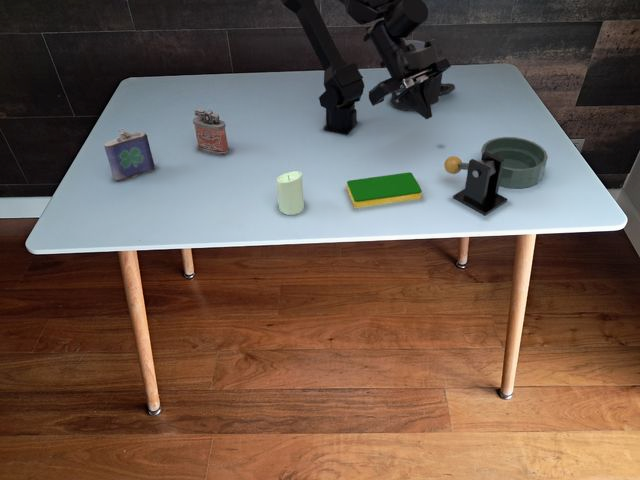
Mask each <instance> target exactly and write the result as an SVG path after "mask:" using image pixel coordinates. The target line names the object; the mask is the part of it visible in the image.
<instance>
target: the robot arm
mask: <svg viewBox="0 0 640 480" xmlns="http://www.w3.org/2000/svg"><path fill="white" fill-rule="evenodd" d="M280 2H281V3H282V5H283V6H284V7H285V8H287V9H289V10H290V11H291V12H292V13H294V14H295V15H296V17H297V19H298V22H299V23H300V25H301V27H302V29H303V31H304V33H305V35H306V37H307V39H308V41H309V43H310V45H311V47H312V50H313V51H314V53H315V55H316V57H317V58H318V61H319V63H320V65H321V68H322V69H323V72H324V73H323V86H324V89H325V90H324V92H323V93H321V94H320V95H319V96H318V100H319V105H320V107H322V108H324V109H325V125H324V127H323V131H327V132H331V133H335V134H341V135H349V134H350V133H351V132H352V130H354V129H355V127H356V126H357V125H358V121H357V119H358V118H357V117H358V115H357V112H358V111H357V109H356V103H357V102H360V101H361V99H362V96H363V94H364V89H365V82H364V80H363V79H364V76H363V75H362V74H361V72H360V70H359V68H358V65H357V64H356V63H355V62H351V63H348V62H347V61H346V60H345V59H344V58H343V56H342V54H341V51H340V50H339V48H338V46H337V44H336V42H335V40H334V38H333V36H332V34H331V32H330V30H329V29H328V25H327V23H326V22H325V20H324V17H323V16H322V14H321V12H320V9H319V8H318V6H317V4H316V0H280ZM338 2H340V3H341V4H342V5H344V8H345V11H346V13H347V14H348V16H349V17H350V18H351V19H353V20H354V21H355V22H356V23H357V24H359V25H360V26H361V25H366V24H369V23H371V22H375V21H377V22H376V23H375V24H372V25H369V26H366V27H365V29H364V31H365V32H364V34H363V39H362V40H363V42H365V43H366V42H369V41H372V43H373V45H374V47H375V49H376V51H377V52H378V54H379V57H380V58H381V60H382V61H380V63H379V66H380V67H381V69H383V68H386V70H387V71H388V74H389V75H390V77H389V78H387V79H385V80H382V81H379V83H377V84H376V85H375V86H374V87H373V88H371V89H370V90H369V91H368V101H369V102H370V104H371V106H372V107H374V106H376V105H378V104H381V103H383V102H384V101H385V98H386V97H387V96H388V95H391V94H392V93H393V92H395V91H396V94H397V96H396V97H395V98H394V100H395V101H396V100H399V101H400V102H402V103H404V104H405V105H407V106H409V107H410V108H412V109H413V110H412V111H414V112H415V113H417V114H418V115H420V116H421V117H422V118H424V119H425V120H429V119H432V117H433V112H432V105H430V98H429V86H430V83H431V81H432V80H433V79H434V78H436V77H437V76H439V75H440V74H441V73H442V74H443V73H444V72H446V71H447V70H448V69H450V68H451V67H452V66H451V64H450V62H449V60H448V58H447V57H445V56H442V53H443V49H442V47H441V44H440V43H439V41H438V39H437V38H432V39H429V40H427V41H424V42H425V45H424V47H423V48H420V49H416V48H415V46H414V45H412V44H409V45H407V43H406V41H407V40H406V39H405V38H408V37H409V36H410V35H411V34H412V33H414V32H415V31H416V30H417V29H418V28H419V27H420V26H421V25H423V24H424V23H425V22H426V21H427V20H428V17H429V7H428V6H427V4H426V2H424V1H423V0H338Z"/></svg>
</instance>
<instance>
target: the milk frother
mask: <svg viewBox="0 0 640 480" xmlns="http://www.w3.org/2000/svg"><path fill="white" fill-rule="evenodd" d="M405 41H406V43H407V45H409V44H412V45H414V46H415V48H416V49H420V48H423V47H424V45H425V42H426V41H422V40H416V39H415V40H413V39H412V40H411V39H409V40H405ZM442 81H443V73H441V74H440V75H439V76H437V77H436V78H434V79H433V80H432V81H431V83H430V86H429V98H430V105H431V106H432V105H435V104H437V103H438V102H439V98H440V97H442V96H445V95H448V94H450V93H451V92H453V91H455V90H456V84H453V83H442ZM396 96H397V94H396V91H395V92H393V93H391V99H390V104H391V106H392V107H393V108H396V109H397V110H402V111H414V110H413V109H412V108H410V107H409V106H407V105H405V104H404V103H402V102H400V101H399V100H396V101H395V100H394V98H395V97H396Z"/></svg>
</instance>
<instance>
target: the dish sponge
mask: <svg viewBox="0 0 640 480" xmlns="http://www.w3.org/2000/svg"><path fill="white" fill-rule="evenodd" d="M346 190H347V192H348V195H349V198H350V199H351V203H352V205H353V208H354V209H355V210H358V209H359V208H363V207H365V208H366V207H372V206H379V205H385V204H392V203H400V202H407V201H413V200H420V199H422V188H421V186H420V184H419V183H418V180H416V178H415V176H414V174H413V172H410V171H409V172H402V173H401V172H400V173H395V174H388V175H379V176H372V177H366V178H358V179H351V180H350V179H349V180H347V181H346Z"/></svg>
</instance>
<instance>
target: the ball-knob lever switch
mask: <svg viewBox="0 0 640 480" xmlns="http://www.w3.org/2000/svg"><path fill="white" fill-rule="evenodd" d="M481 160H488V161H494V164H495V171H496V173H494V174H492V175H491V176H490V172H491V168H490V167H488V166H486V165H484V164H482V163H480V162H479V160H476V159H475V158H471V159H469V160H468V163H469V166H468V170H467V172H466V178H465V186H464V188H463V189H462V190H460V191H459V192H457V193H455V194H453V196H452V199H453V200H455V201H457V202H459V203H461V204H462V205H464V206H466V207H468V208H470V209H472V210H473V211H475V212H477V213H478V214H480V215H482V216H484V217H486V216H487V215H489V214H490V213H492V212H494V211H496V210H497V209H498V208H500V207H502V206H503V205H505V204H506V203H507V202H508V200H509V199H508V198H507V197H506V196H503V195H501V194H499V189H500V186H499V185H500V180H501V175H502V170H503V165H504V160H503V159H501V158H499V157H497V156H495V155H493V154H490V153H488V152H486V151H485V152H484V153H482V159H481Z"/></svg>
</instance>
